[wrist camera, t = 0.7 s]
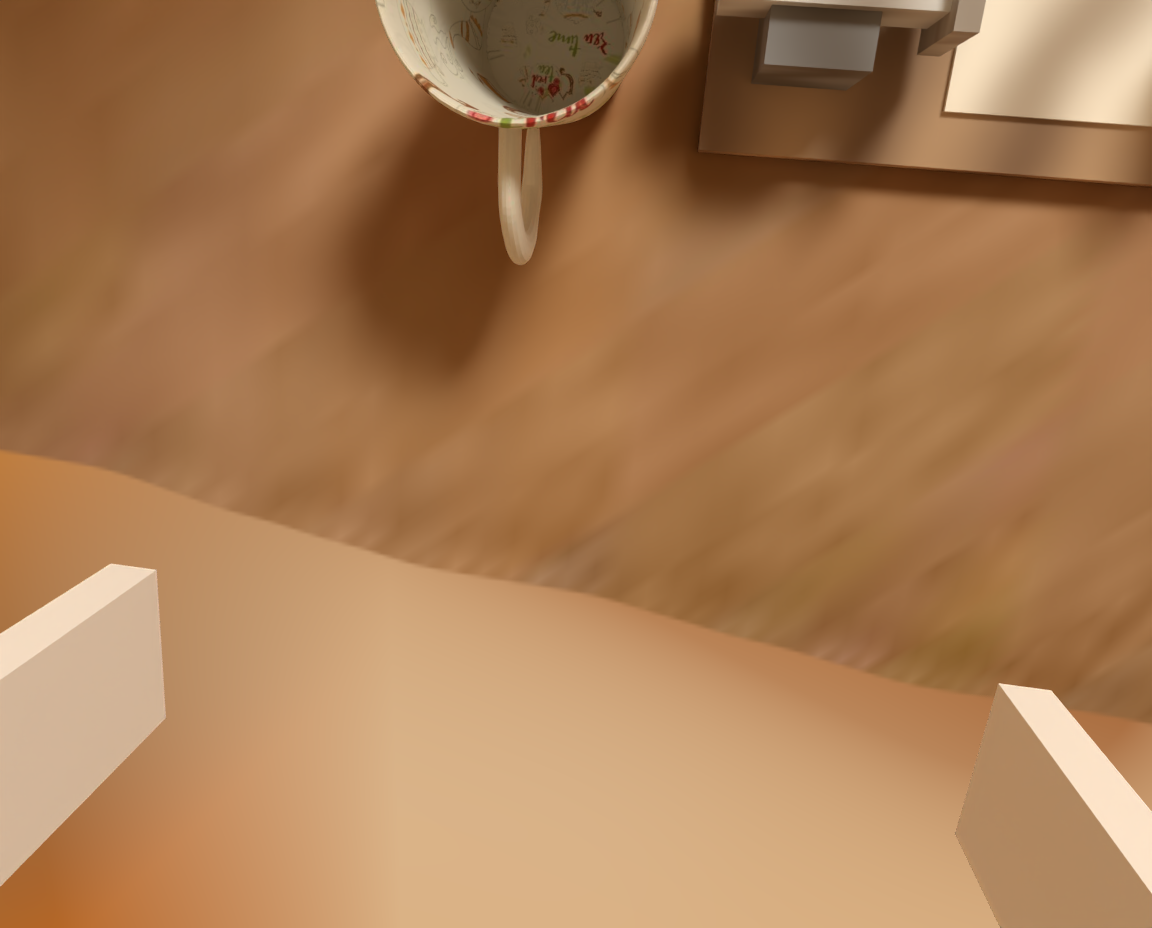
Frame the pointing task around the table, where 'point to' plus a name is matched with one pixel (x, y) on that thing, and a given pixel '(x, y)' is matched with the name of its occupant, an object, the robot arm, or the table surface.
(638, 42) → the mug
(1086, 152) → the shaft bed
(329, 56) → the table surface
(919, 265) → the table surface
